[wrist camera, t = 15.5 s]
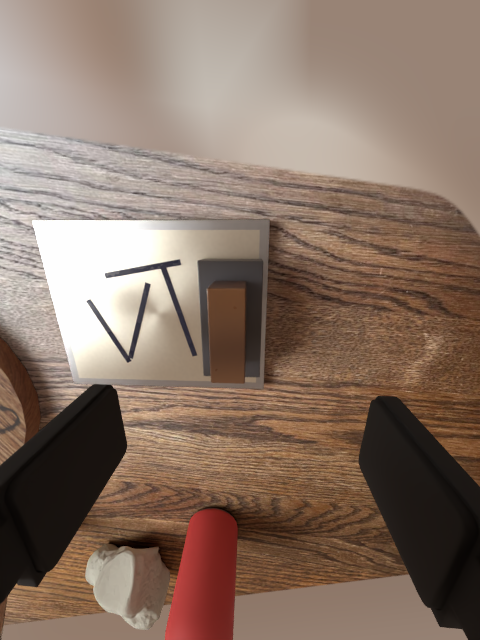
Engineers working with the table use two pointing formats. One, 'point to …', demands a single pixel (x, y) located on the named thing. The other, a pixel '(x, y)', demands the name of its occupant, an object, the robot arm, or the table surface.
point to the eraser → (230, 318)
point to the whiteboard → (141, 295)
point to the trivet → (16, 404)
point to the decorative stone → (129, 583)
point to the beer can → (206, 579)
